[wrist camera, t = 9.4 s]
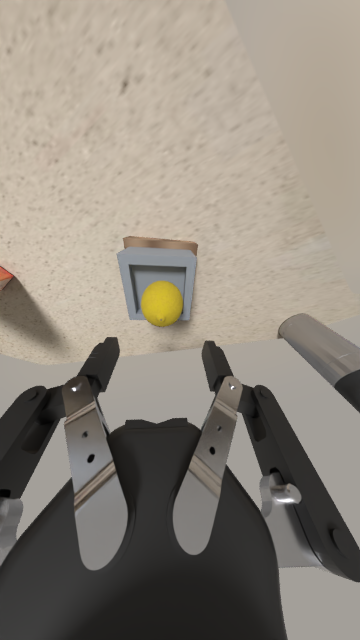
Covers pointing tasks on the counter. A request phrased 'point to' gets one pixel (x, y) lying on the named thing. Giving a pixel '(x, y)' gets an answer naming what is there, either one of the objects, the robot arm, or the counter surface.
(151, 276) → the slate cup block
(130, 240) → the walnut base block
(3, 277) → the cracker box
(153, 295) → the lemon
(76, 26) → the counter surface
